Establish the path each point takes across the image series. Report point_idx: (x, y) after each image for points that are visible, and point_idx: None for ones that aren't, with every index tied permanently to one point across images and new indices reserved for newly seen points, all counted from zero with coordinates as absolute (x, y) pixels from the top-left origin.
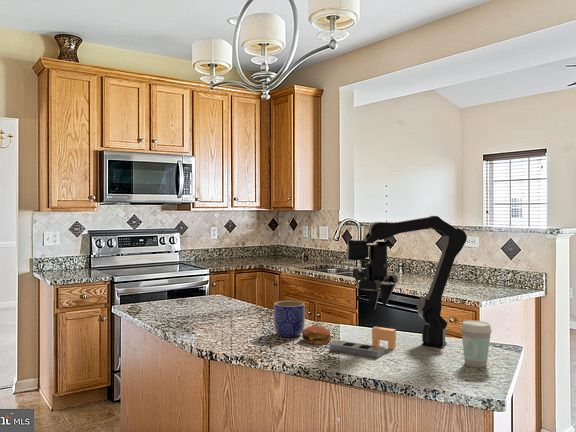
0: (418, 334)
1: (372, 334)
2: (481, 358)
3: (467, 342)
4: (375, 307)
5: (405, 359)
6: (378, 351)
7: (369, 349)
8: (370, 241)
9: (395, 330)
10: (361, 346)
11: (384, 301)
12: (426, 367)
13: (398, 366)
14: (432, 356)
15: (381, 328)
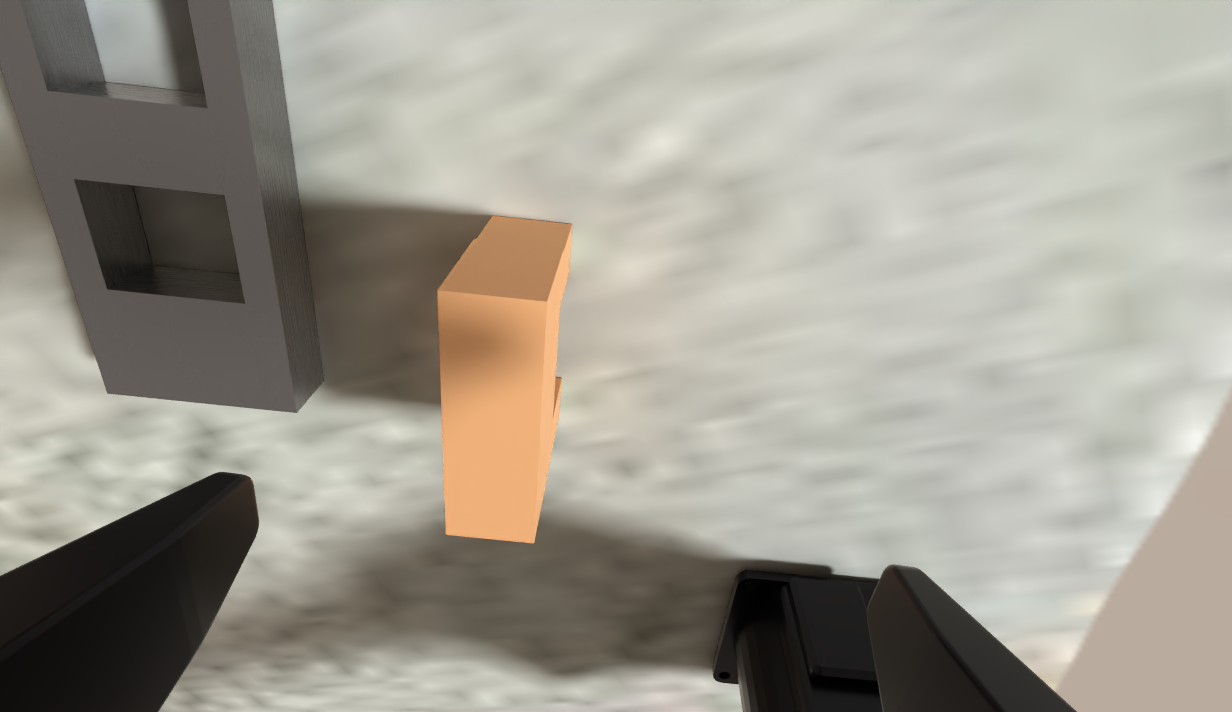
0: (1144, 495)
1: (462, 262)
2: None
3: None
4: (224, 589)
5: (293, 529)
6: (131, 395)
7: (122, 308)
8: None
9: (518, 535)
10: (193, 188)
11: (906, 670)
12: (223, 643)
13: (105, 520)
14: (479, 645)
15: (487, 402)
